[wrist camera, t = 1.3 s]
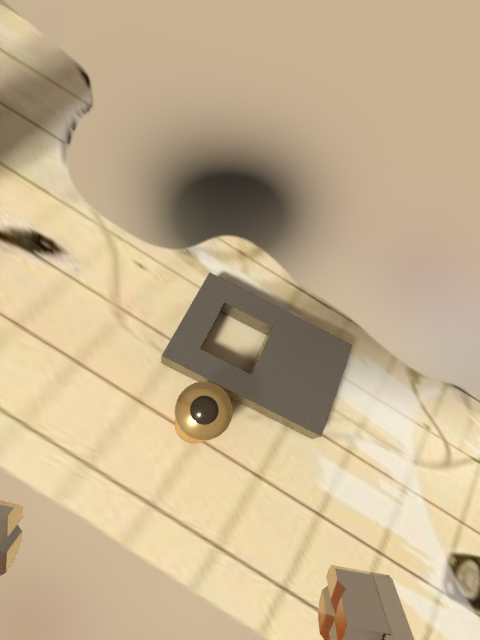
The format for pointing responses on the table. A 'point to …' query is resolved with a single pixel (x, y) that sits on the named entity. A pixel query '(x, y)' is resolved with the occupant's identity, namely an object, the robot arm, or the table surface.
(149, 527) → the table surface
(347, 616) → the robot arm
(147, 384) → the table surface
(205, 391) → the bushing
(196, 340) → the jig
